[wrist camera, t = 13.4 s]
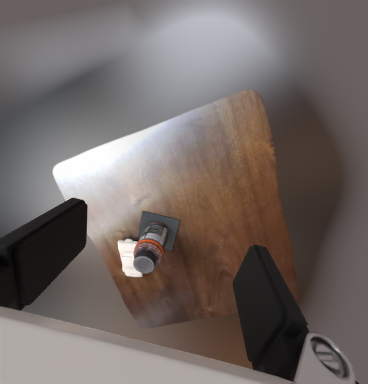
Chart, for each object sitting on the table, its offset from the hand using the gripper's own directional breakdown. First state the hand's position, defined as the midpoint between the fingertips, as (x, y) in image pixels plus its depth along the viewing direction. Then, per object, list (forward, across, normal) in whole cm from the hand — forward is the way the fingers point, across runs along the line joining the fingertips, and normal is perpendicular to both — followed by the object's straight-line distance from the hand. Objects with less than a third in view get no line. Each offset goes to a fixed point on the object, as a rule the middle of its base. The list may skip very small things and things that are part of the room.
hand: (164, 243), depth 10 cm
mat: (+27, +3, +19) cm, 34 cm away
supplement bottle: (+27, +3, +19) cm, 34 cm away
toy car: (+27, +8, +28) cm, 40 cm away
